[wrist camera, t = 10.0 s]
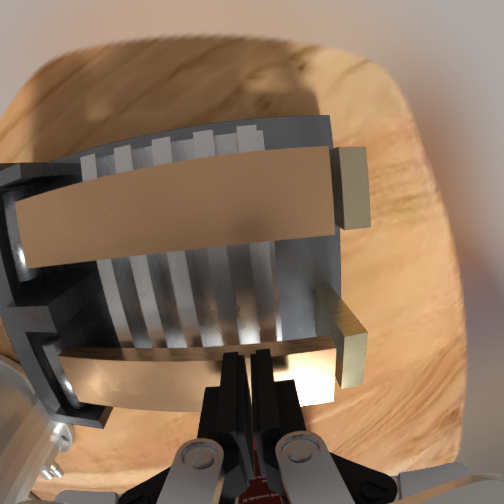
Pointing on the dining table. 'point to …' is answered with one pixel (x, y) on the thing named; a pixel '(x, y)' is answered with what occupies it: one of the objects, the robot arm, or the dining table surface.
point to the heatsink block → (186, 267)
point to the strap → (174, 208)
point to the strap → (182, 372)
